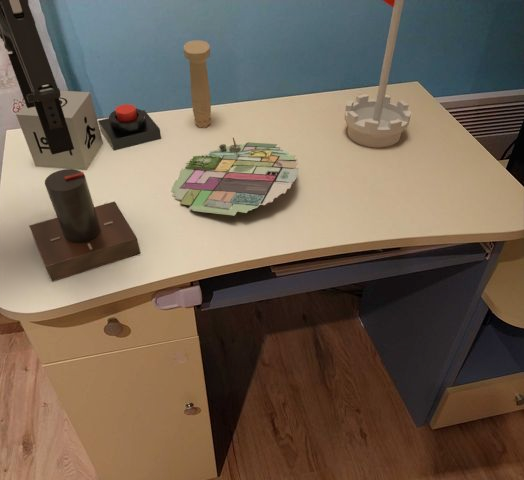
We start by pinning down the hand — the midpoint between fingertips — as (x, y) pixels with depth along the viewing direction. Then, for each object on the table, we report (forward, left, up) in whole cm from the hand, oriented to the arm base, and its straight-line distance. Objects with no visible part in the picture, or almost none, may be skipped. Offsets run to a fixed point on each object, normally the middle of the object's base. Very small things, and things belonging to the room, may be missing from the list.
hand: (49, 126), depth 64 cm
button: (-31, +18, -16) cm, 39 cm away
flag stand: (-8, +63, -20) cm, 66 cm away
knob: (0, 0, -17) cm, 17 cm away
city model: (-5, +29, -20) cm, 35 cm away
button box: (-31, +18, -20) cm, 41 cm away
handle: (-28, +33, -20) cm, 48 cm away
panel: (0, 0, -20) cm, 20 cm away
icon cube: (-29, +5, -20) cm, 36 cm away
